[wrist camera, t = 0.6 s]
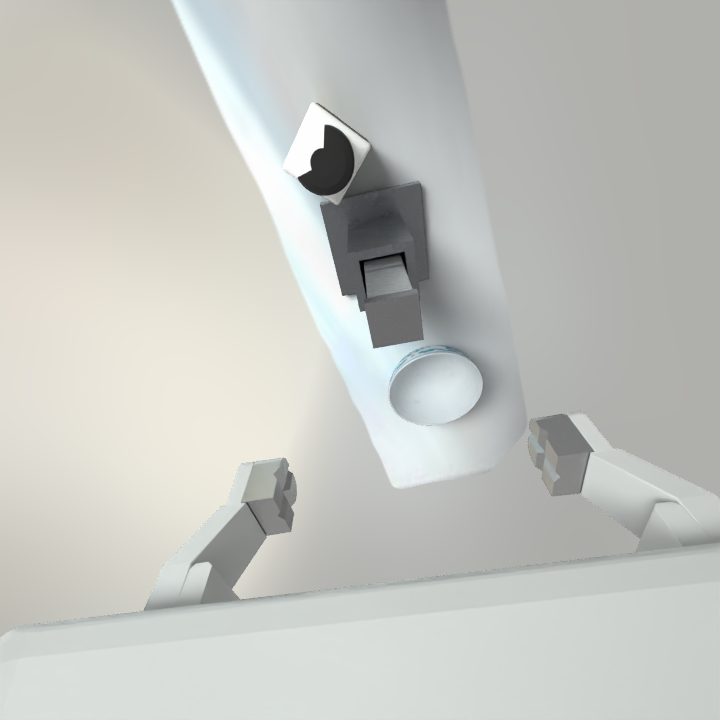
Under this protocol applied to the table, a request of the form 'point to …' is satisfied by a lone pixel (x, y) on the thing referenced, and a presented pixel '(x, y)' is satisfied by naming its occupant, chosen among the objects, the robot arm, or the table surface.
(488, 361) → the table surface
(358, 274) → the stand base
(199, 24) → the table surface
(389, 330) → the column
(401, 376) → the chinaware
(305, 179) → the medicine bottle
